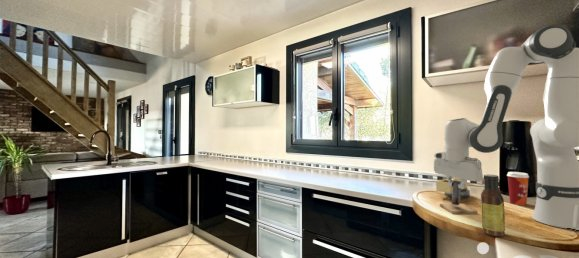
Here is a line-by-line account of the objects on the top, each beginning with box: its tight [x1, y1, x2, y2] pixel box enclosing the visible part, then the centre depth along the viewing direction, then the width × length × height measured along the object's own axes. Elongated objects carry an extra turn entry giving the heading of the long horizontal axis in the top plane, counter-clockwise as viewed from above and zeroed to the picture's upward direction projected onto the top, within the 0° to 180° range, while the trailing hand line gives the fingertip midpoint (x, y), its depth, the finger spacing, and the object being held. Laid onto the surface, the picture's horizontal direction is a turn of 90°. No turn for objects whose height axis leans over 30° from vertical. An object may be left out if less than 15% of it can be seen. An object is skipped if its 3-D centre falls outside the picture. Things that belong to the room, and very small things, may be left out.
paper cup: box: [506, 171, 530, 206], centre depth 116 cm, size 8×8×14 cm
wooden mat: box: [439, 203, 478, 215], centre depth 110 cm, size 10×10×1 cm
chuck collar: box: [435, 177, 468, 194], centre depth 129 cm, size 16×9×5 cm, turn 117°
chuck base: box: [443, 188, 471, 199], centre depth 131 cm, size 11×11×3 cm
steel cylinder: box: [450, 180, 461, 205], centre depth 110 cm, size 3×3×10 cm
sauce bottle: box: [480, 173, 506, 237], centre depth 86 cm, size 7×6×20 cm
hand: (456, 187), depth 110 cm, fingers closed on steel cylinder, 3 cm apart
